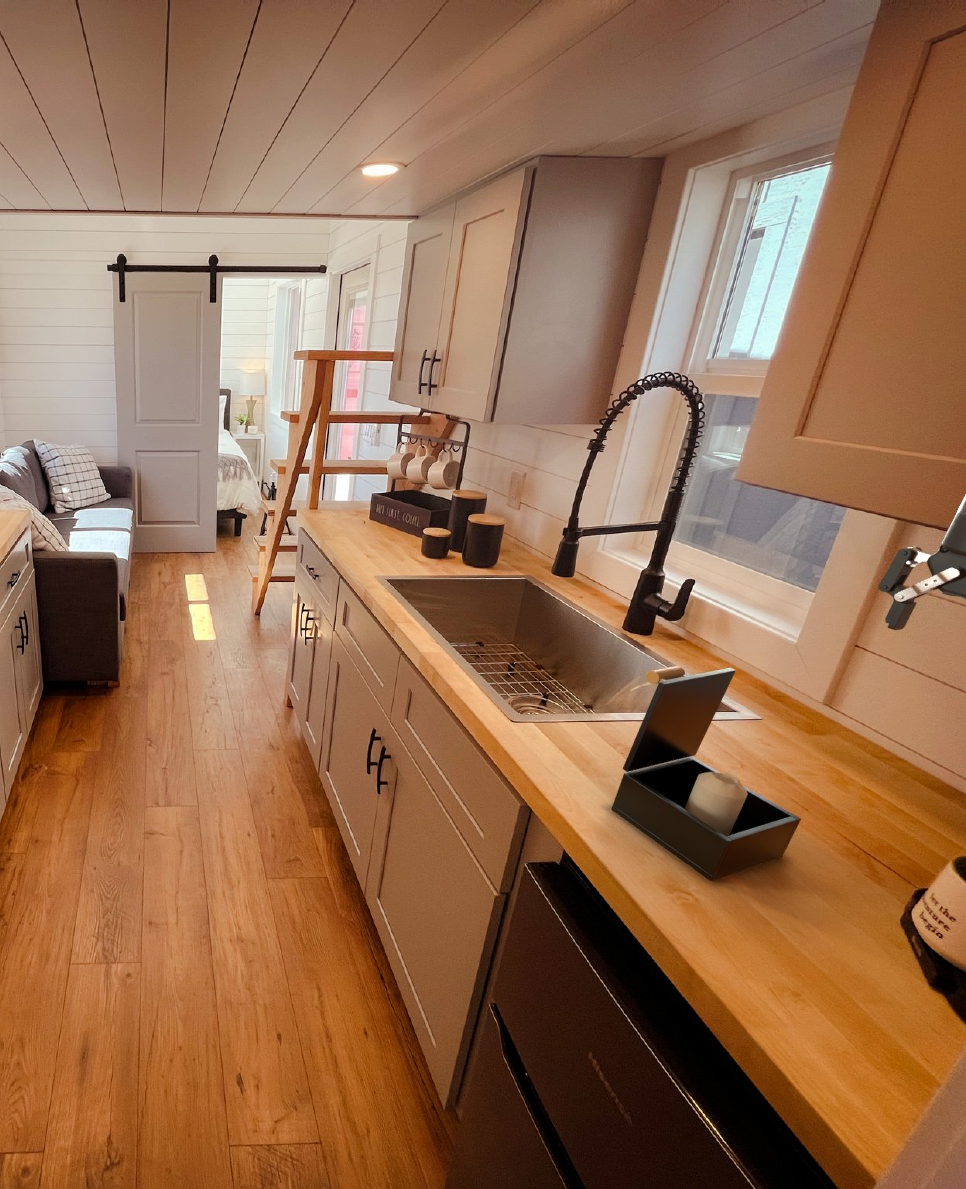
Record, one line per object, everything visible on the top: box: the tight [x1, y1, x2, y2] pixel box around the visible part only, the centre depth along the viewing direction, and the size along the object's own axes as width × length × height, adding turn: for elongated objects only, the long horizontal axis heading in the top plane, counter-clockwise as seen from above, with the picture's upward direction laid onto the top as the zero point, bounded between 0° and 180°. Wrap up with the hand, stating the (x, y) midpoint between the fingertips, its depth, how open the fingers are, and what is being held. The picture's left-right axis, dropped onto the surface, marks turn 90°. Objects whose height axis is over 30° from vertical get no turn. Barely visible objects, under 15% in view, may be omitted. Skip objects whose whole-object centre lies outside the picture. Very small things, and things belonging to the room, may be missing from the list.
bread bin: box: [610, 756, 802, 882], centre depth 93 cm, size 15×15×7 cm
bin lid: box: [622, 665, 737, 773], centre depth 97 cm, size 16×15×5 cm
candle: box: [685, 772, 747, 836], centre depth 91 cm, size 6×6×10 cm
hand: (940, 643), depth 79 cm, fingers open, 8 cm apart
